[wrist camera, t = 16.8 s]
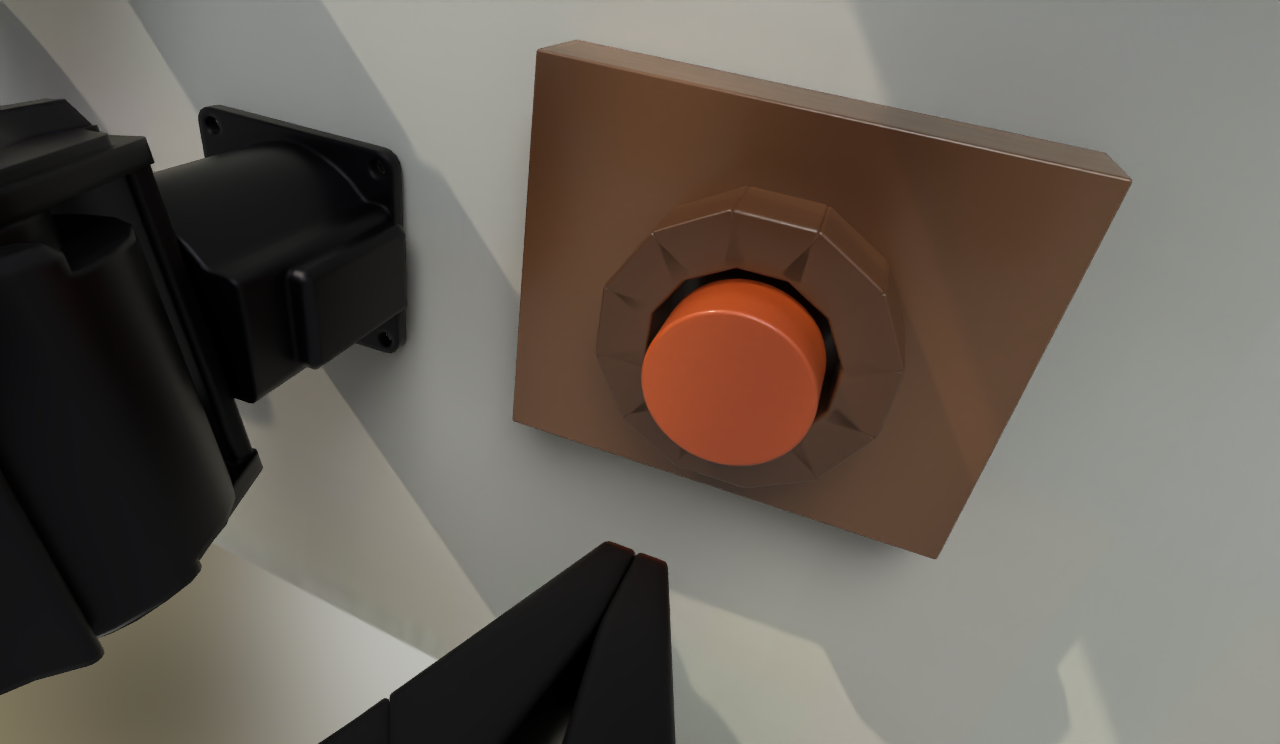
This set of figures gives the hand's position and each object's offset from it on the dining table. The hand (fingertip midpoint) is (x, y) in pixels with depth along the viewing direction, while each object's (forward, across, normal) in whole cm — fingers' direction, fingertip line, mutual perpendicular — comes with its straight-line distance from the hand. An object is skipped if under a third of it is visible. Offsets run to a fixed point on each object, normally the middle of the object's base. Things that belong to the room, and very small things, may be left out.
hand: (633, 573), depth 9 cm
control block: (+11, 0, +1) cm, 11 cm away
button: (+8, 0, +1) cm, 8 cm away
